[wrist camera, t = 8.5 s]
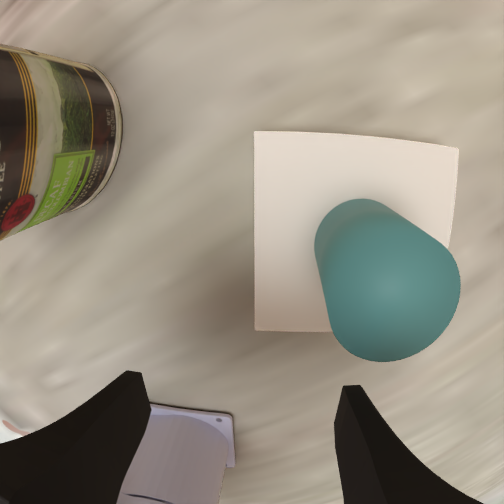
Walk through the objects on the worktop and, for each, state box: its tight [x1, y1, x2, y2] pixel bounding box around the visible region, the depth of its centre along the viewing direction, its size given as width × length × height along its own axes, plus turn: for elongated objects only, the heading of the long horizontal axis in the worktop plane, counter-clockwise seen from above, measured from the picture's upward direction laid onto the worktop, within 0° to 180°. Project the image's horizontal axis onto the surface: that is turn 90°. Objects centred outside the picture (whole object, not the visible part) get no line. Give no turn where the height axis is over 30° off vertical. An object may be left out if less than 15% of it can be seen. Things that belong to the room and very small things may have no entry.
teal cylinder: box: [314, 199, 460, 362], centre depth 12 cm, size 4×4×6 cm
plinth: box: [254, 131, 459, 332], centre depth 16 cm, size 10×10×3 cm
